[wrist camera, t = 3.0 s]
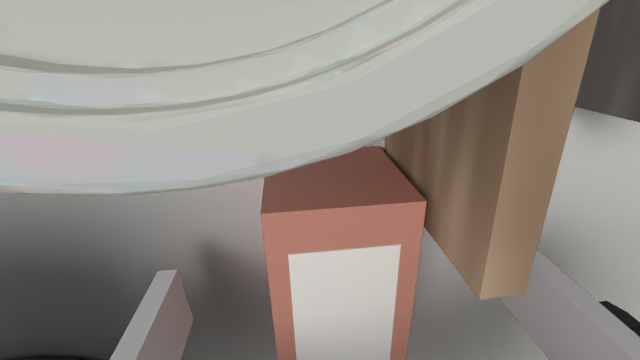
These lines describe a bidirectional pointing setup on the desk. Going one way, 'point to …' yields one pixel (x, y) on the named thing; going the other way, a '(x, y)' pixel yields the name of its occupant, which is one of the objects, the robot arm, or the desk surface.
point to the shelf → (516, 147)
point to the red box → (342, 257)
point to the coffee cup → (238, 82)
